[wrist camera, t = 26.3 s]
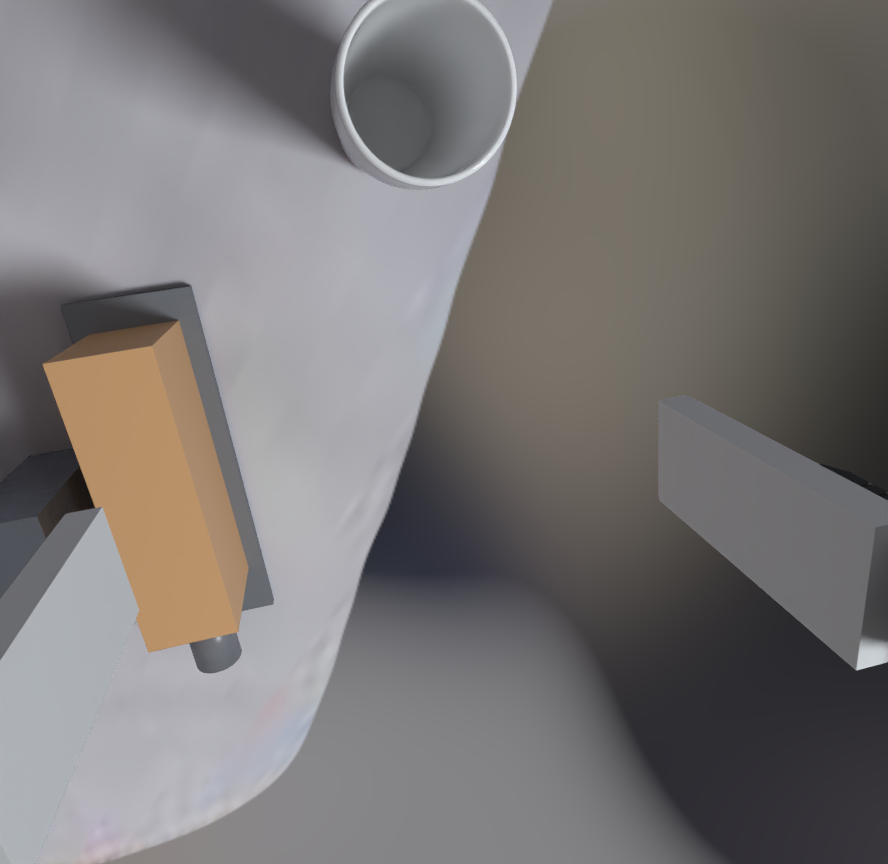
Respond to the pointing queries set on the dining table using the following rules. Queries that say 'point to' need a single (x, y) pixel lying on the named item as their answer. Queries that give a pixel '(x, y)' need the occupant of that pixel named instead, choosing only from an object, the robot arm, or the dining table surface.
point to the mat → (183, 308)
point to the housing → (37, 507)
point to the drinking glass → (422, 90)
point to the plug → (157, 484)
